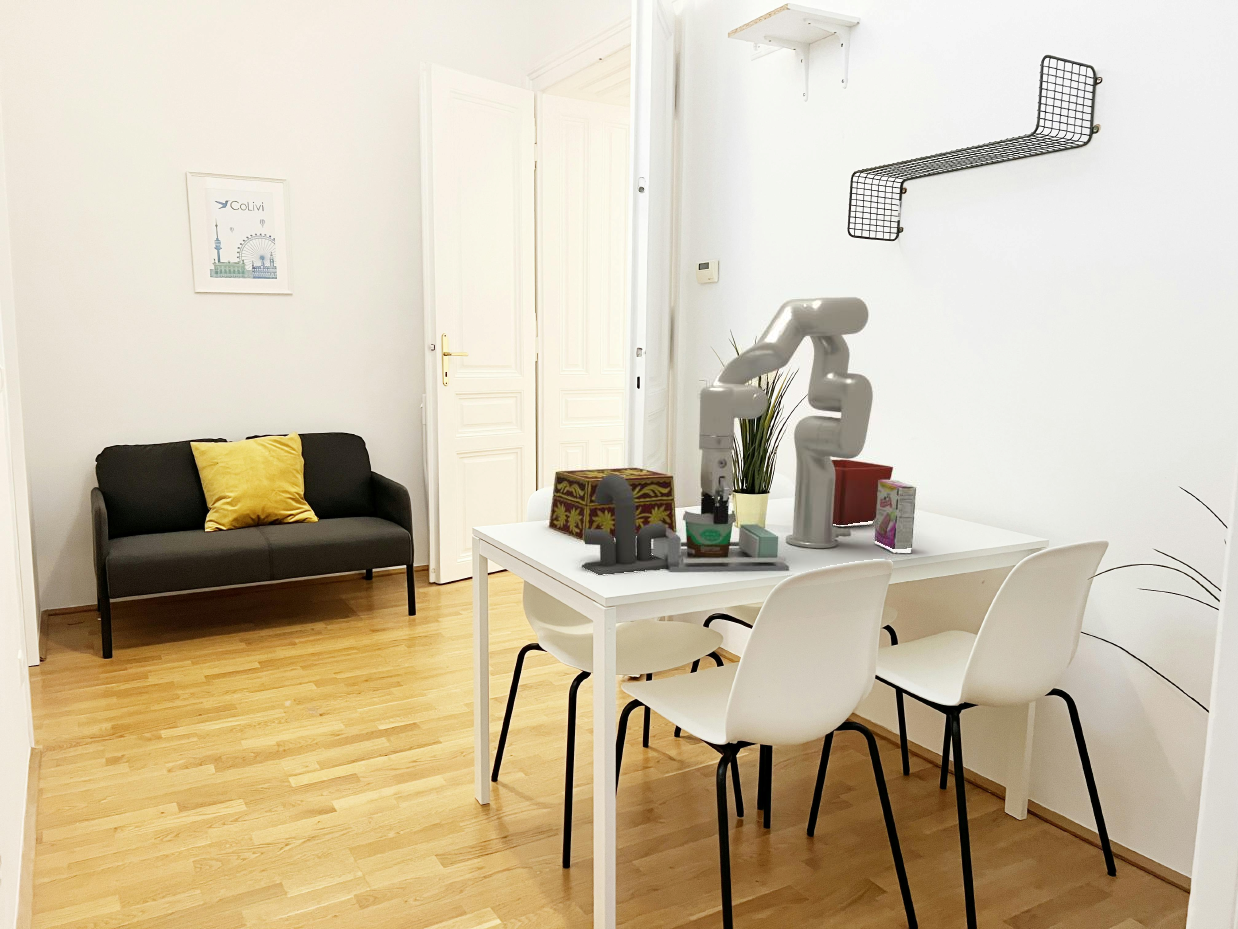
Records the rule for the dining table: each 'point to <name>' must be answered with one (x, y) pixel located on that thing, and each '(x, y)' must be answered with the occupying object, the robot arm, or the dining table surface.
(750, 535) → the block
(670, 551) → the vise bed
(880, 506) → the candy bar box
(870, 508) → the plant pot
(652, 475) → the decorative box
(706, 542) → the food container
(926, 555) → the dining table surface
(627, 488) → the faucet
